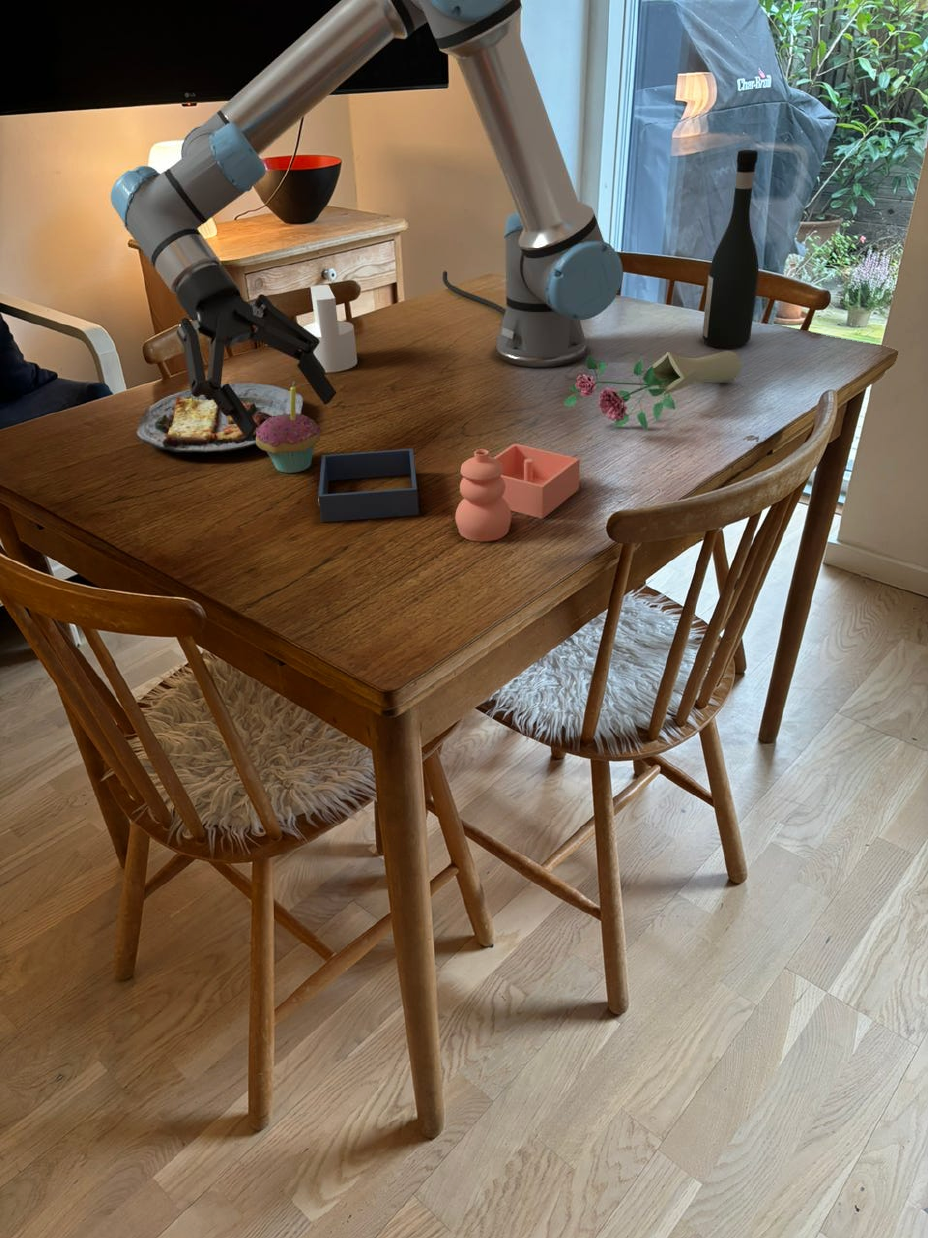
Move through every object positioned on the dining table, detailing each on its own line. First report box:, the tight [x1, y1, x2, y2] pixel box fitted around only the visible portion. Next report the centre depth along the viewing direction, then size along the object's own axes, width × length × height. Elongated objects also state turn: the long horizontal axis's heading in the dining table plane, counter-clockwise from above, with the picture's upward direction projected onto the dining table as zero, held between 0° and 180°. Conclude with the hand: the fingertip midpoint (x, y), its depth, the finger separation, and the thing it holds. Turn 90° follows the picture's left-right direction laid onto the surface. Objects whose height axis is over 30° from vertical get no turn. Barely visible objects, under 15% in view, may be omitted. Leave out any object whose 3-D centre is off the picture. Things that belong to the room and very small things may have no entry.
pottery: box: [454, 443, 581, 543], centre depth 113 cm, size 18×10×10 cm, turn 146°
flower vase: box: [563, 350, 742, 431], centre depth 136 cm, size 12×12×35 cm
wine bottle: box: [702, 149, 759, 349], centre depth 155 cm, size 8×8×30 cm
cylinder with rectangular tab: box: [302, 284, 358, 374], centre depth 159 cm, size 9×9×12 cm
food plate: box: [135, 382, 304, 454], centre depth 140 cm, size 25×23×4 cm
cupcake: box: [256, 381, 322, 474], centre depth 125 cm, size 9×8×12 cm
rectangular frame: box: [317, 448, 420, 523], centre depth 119 cm, size 12×12×4 cm
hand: (292, 415), depth 124 cm, fingers open, 13 cm apart
